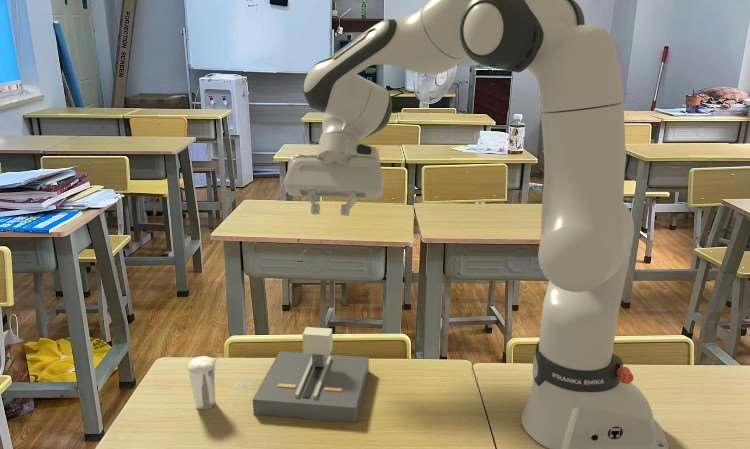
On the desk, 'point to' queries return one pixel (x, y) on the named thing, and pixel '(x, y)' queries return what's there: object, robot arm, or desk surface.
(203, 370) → the milkshake
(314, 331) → the fader tab
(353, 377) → the fader console
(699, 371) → the desk surface
